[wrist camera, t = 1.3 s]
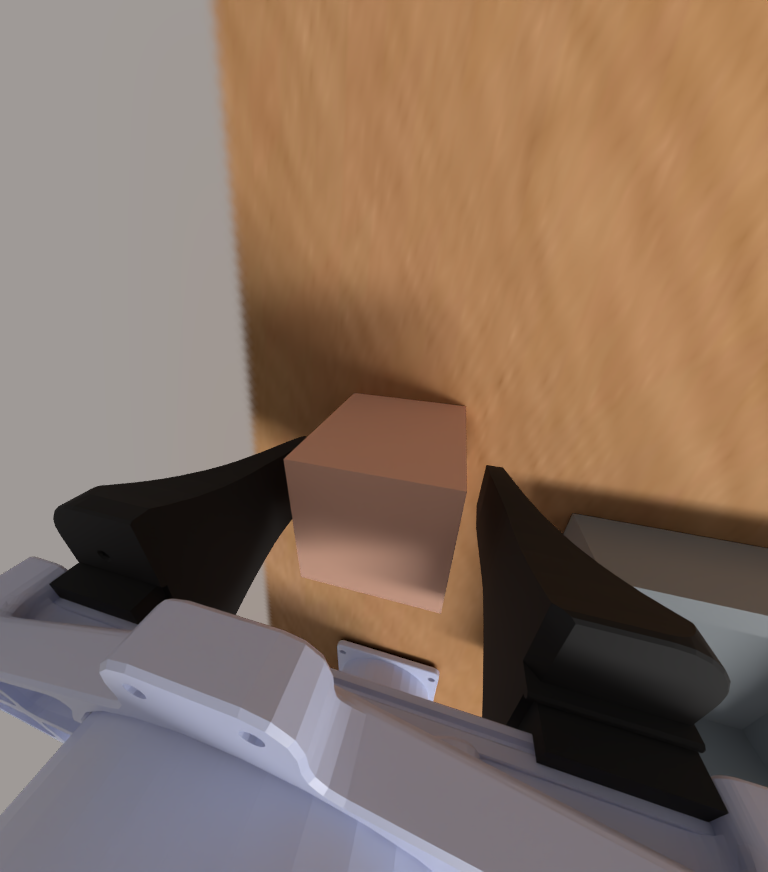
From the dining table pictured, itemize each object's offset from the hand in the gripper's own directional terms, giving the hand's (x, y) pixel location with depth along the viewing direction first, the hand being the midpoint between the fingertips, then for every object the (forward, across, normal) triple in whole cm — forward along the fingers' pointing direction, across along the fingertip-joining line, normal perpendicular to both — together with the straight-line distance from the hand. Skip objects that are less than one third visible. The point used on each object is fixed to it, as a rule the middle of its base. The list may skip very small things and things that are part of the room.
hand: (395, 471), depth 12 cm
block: (+2, 0, 0) cm, 2 cm away
